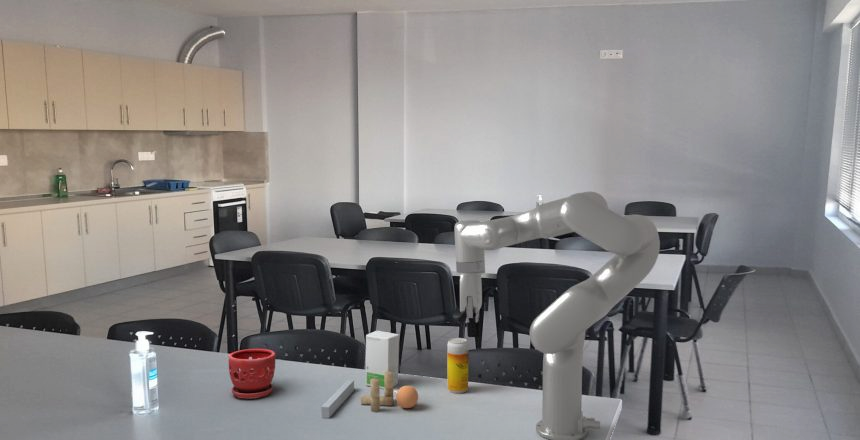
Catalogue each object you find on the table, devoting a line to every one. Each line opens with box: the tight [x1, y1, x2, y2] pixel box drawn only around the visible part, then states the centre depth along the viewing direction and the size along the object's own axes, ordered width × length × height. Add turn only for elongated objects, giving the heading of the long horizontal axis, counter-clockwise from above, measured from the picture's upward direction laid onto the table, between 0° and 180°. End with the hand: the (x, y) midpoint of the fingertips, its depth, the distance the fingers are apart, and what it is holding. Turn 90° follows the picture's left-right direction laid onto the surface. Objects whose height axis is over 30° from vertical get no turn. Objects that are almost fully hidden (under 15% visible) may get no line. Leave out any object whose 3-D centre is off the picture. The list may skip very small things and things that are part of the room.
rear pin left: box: [370, 378, 381, 413], centre depth 187 cm, size 2×2×8 cm
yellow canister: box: [446, 337, 469, 394], centre depth 202 cm, size 6×6×15 cm
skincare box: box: [364, 330, 400, 390], centre depth 208 cm, size 8×7×16 cm
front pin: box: [360, 394, 394, 407], centre depth 192 cm, size 2×2×8 cm
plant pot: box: [228, 348, 276, 400], centre depth 201 cm, size 13×13×12 cm
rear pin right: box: [384, 371, 394, 398], centre depth 194 cm, size 2×2×8 cm
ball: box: [395, 385, 419, 409], centre depth 189 cm, size 6×6×6 cm
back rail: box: [321, 379, 355, 419], centre depth 193 cm, size 2×22×3 cm, turn 169°
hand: (474, 336), depth 184 cm, fingers closed
